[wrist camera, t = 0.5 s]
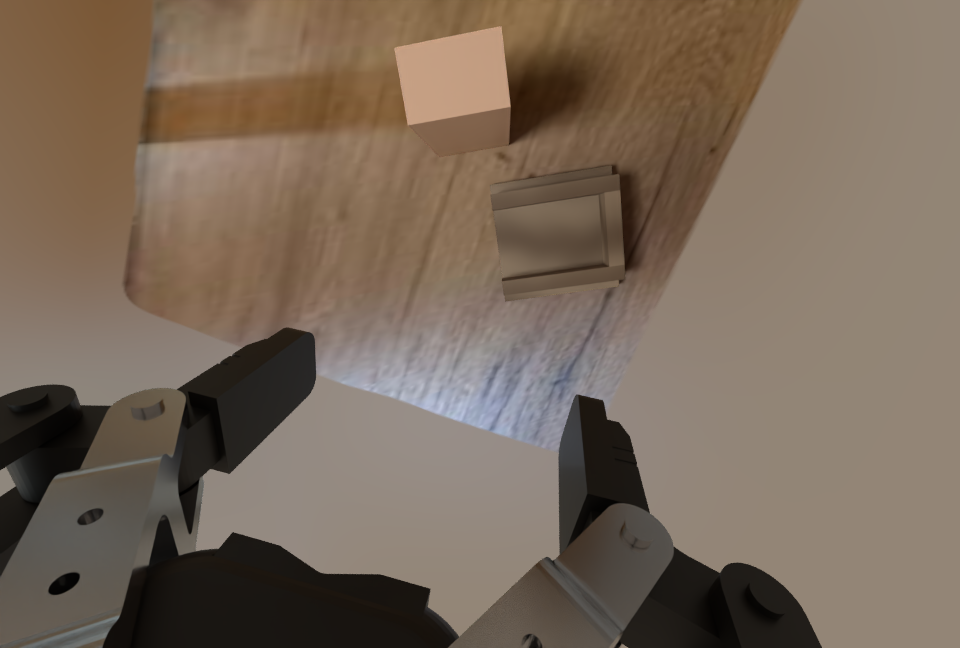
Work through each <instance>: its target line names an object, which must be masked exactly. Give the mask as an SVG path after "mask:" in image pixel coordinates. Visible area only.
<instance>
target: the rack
mask: <svg viewBox="0 0 960 648" xmlns="http://www.w3.org/2000/svg"><path fill="white" fill-rule="evenodd" d="M490 190H491V202H492V209H493V212H494V220H495V227H496V235H497V242H498V250H499V257H500V264H501V272H502V284H503V291H504V295H505V301H512V300H520V299H527V298H535V297H542V296H550V295H558V294H565V293H573V292H580V291H588V290H595V289H603V288H610V287H618V286H619V280H624V279H625V264H624V247H623V230H622V213H621V195H620V178H619V174H616V175H612V165H611V166H605V167H599V168H592V169H586V170H580V171H574V172H568V173H562V174H555V175H549V176H543V177H537V178H531V179H525V180H519V181H512V182H506V183H500V184H494V185H490Z"/></svg>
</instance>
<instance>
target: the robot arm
mask: <svg viewBox="0 0 960 648" xmlns="http://www.w3.org/2000/svg"><path fill="white" fill-rule="evenodd" d="M315 380H316V361H315V339H314V336H313V334H312V333H310V332H305V331H301V330H297V329H292V328H284V329H282V330H280V331H279V332H277V333H276V334H274V335H273V336H271V337H270V338H268V339H264V340H261V341H258V342H255V343H252V344H249V345H246V346H245V347H243V348H242V349H240V350H238V351H237V352H235V353H234V354H233V355H232V356H229V357H227V358H226V359H224V360H223V361H221V363H220V364H216V365H215V366H213V367H212V368H210V369H208V370H207V371H205V372H204V373H202V374H200V375H199V376H197V377H196V378H194V379H193V380H191V381H189V382H188V383H186V384H185V385H183V386H182V387H180V388H178V389H177V390H175V389H171V388H155V389H148V390H143V391H139V392H137V393H134V394H131V395H128V396H126V397H124V398H122V399H120V400H119V401H117V402H116V403H114V404H113V405H112V406H85V405H82V406H81V405H80V403H79V400H78V398H77V395H76V392H75V391H74V389H72V388H71V387H68V386H64V385H41V386H35V387H30V388H25V389H22V390H18V391H15V392H12V393H9V394H7V395H4V396H2V397H0V470H1V469H3V468H5V467H7V469H8V471H9V473H10V475H11V477H12V479H13V481H14V483H15V485H16V487H14V488H13V489H11V490H10V491H8V492H7V493H5V494H4V495H2V496H1V497H0V648H620V647H621V646H622V644H624V645H625V646H627V647H628V648H822V647H821V645H820V643H819V641H818V639H817V636H816V634H815V632H814V630H813V628H812V626H811V624H810V622H809V620H808V618H807V616H806V614H805V612H804V611H803V609H802V607H801V606H800V604H799V603H798V601H797V600H796V599H795V598H794V597H793V595H792V594H791V593H790V592H789V591H788V590H787V589H786V588H785V587H784V586H783V585H782V584H780V583H779V582H778V581H777V580H776V579H774V578H773V577H772V576H770V575H769V574H767V573H765V572H764V571H762V570H760V569H758V568H756V567H753V566H751V565H748V564H743V563H731V564H728V565H726V566H725V567H724V568H723V569H722V571H721V573H718V572H717V571H715V570H713V569H711V568H709V567H707V566H706V565H704V564H702V563H700V562H698V561H696V560H694V559H692V558H691V557H688V556H687V555H685V554H684V553H682V552H681V551H679V550H678V549H676V548H675V547H674V546H673V542H672V539H671V537H670V535H669V533H668V532H667V530H666V529H665V527H664V526H663V525H662V524H661V523H660V522H659V521H658V520H657V519H656V518H655V517H654V516H653V515H651V514H650V512H649V508H648V504H647V501H646V497H645V493H644V489H643V485H642V481H641V477H640V474H639V470H638V467H637V462H636V459H635V455H634V454H633V452H634V451H633V447H632V443H631V439H630V436H629V435H628V434H627V433H626V431H625V430H624V428H623V427H622V426H621V424H620V423H619V422H615V421H611V420H607V417H606V411H605V406H604V402H603V400H599V399H595V398H590V397H586V396H581V395H576V396H575V398H574V400H573V403H572V406H571V409H570V412H569V416H568V419H567V422H566V425H565V428H564V431H563V435H562V438H561V442H560V448H559V531H560V532H559V534H560V535H559V536H560V537H559V540H560V555H559V556H558V557H557V558H556V559H555V560H553V561H552V560H551V559H550V558H549V557H546V558H544V559H542V560H540V561H539V562H538V563H537V564H536V565H535V566H534V567H532V569H530V570H529V571H528V572H527V573H526V574H525V575H524V576H523V577H522V578H521V579H520V580H519V581H518V582H517V583H516V584H515V585H514V586H512V587H511V588H510V589H509V590H508V591H507V592H506V593H505V594H504V595H503V596H502V597H501V598H500V599H499V600H498V601H497V602H496V603H495V604H493V605H492V606H491V607H490V608H489V609H488V610H487V611H486V612H485V613H484V614H483V615H482V616H481V617H480V618H479V619H478V620H477V621H476V622H475V623H474V624H473V625H471V627H469V628H468V629H467V630H466V631H465V632H464V633H463V634H462V635H461V636H460V637H459V636H458V634H457V633H456V632H455V631H454V630H453V629H452V627H451V626H450V625H449V624H448V623H447V622H446V621H445V620H444V619H443V618H442V617H440V616H439V615H438V614H437V613H435V612H434V611H432V610H431V609H430V608H428V601H429V595H430V589H429V588H426V587H422V586H419V585H415V584H411V583H408V582H405V581H401V580H397V579H394V578H391V577H387V576H384V575H378V574H377V575H376V574H375V575H374V574H323V573H320V572H318V571H316V570H315V569H313V568H312V567H310V566H309V565H307V564H306V563H304V562H303V561H301V560H300V559H298V558H297V557H295V556H294V555H293V554H291V553H290V552H288V551H287V550H285V549H284V548H282V547H281V546H279V545H276V544H272V543H269V542H265V541H262V540H258V539H255V538H251V537H248V536H244V535H241V534H237V533H234V532H233V533H232V534H231V535H230V536H229V537H228V538H227V540H226V541H225V542H224V543H223V544H222V546H221V547H220V548H219V549H209V550H200V551H196V542H197V534H198V527H199V519H200V511H201V504H202V496H203V488H204V480H203V475H204V474H205V473H206V472H207V471H208V470H209V469H214V470H217V471H221V472H225V473H228V474H230V473H231V472H232V471H233V470H234V469H235V468H236V467H237V466H238V465H239V464H240V463H241V462H242V461H243V460H244V459H245V458H246V457H247V456H248V455H249V454H250V453H251V452H252V451H253V450H254V449H255V448H256V447H257V446H258V445H259V444H260V443H261V442H262V441H263V440H264V439H265V438H266V437H267V436H268V435H269V434H270V433H271V432H272V431H273V430H274V429H275V428H276V427H277V426H278V425H279V424H280V423H281V422H282V421H283V420H284V419H285V418H286V417H287V416H288V415H289V414H290V413H291V412H292V411H293V410H294V409H295V408H296V407H297V406H298V405H299V404H300V403H301V402H302V401H303V400H304V399H306V397H307V396H308V395H309V394H310V393H311V391H312V389H313V387H314V384H315Z"/></svg>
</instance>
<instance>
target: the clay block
mask: <svg viewBox="0 0 960 648" xmlns="http://www.w3.org/2000/svg"><path fill="white" fill-rule="evenodd" d="M395 54H396V60H397V65H398V71H399V77H400V82H401V88H402V94H403V99H404V105H405V111H406V117H407V122H408V126H409V127H410V128H411V129H412V130H413V131H414V132H415V133H416V134H417V135H418V136H419V137H420V138H421V139H422V140H423V141H424V142H425V143H426V144H427V145H428V146H429V147H430V148H431V149H432V150H433V151H434V152H435V153H436V154H437V155H438V156H439V157H443V156H449V155H455V154H461V153H467V152H473V151H478V150H484V149H490V148H496V147H502V146H508V145H509V133H510V111H511V105H510V97H509V88H508V79H507V71H506V62H505V54H504V45H503V36H502V28H501V26H500V27H495V28H490V29H485V30H480V31H475V32H470V33H465V34H460V35H455V36H450V37H445V38H440V39H435V40H430V41H425V42H420V43H415V44H410V45H405V46H400V47H396V48H395Z"/></svg>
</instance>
